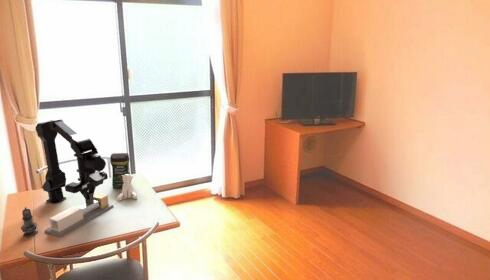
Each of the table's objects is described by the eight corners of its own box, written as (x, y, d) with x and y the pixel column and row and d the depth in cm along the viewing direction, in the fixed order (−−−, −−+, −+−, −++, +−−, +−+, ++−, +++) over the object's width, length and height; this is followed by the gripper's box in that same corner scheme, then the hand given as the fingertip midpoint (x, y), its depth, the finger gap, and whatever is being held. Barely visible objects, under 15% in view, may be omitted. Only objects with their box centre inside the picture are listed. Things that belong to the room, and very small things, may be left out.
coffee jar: (111, 189, 185) (107, 156, 179) (114, 183, 192) (111, 151, 187) (130, 188, 186) (127, 155, 181) (132, 182, 193) (129, 150, 188)
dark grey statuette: (26, 230, 145) (21, 204, 142) (41, 229, 146) (36, 203, 142) (19, 237, 140) (13, 210, 136) (34, 237, 140) (29, 210, 137)
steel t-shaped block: (67, 219, 150) (64, 202, 148) (98, 203, 165) (96, 187, 162) (72, 221, 149) (69, 204, 146) (102, 204, 164) (101, 188, 161)
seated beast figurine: (117, 201, 171) (114, 178, 168) (119, 193, 180) (116, 172, 176) (137, 199, 173) (135, 177, 170) (138, 192, 182) (136, 170, 178)
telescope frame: (44, 232, 144) (42, 219, 142) (99, 203, 169) (97, 191, 168) (60, 237, 140) (58, 223, 139) (113, 206, 166) (112, 195, 164)
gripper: (81, 177, 142) (85, 211, 146) (115, 163, 158) (118, 194, 163) (61, 172, 146) (66, 206, 151) (96, 159, 163) (100, 190, 167)
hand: (89, 199), depth 158 cm, fingers closed on steel t-shaped block, 2 cm apart
